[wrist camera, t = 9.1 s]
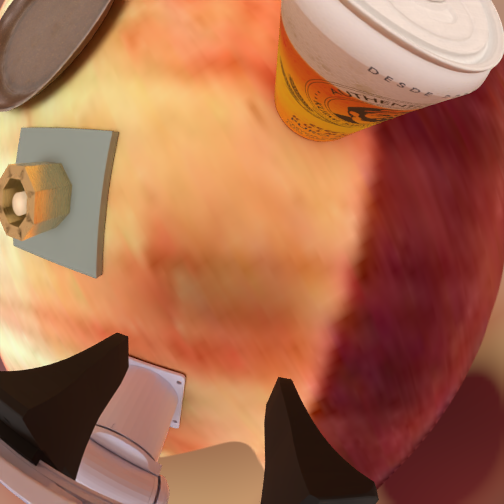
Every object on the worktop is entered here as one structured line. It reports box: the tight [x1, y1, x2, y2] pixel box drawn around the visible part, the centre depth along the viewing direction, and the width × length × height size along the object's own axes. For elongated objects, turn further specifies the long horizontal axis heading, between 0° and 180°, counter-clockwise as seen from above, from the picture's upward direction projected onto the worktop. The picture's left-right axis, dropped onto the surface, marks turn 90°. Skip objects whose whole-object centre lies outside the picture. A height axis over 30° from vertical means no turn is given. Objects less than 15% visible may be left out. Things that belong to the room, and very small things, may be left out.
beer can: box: [274, 0, 504, 142], centre depth 10 cm, size 6×6×15 cm
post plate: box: [12, 128, 119, 278], centre depth 17 cm, size 12×12×5 cm
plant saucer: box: [0, 0, 114, 112], centre depth 13 cm, size 21×21×3 cm
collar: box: [0, 161, 72, 241], centre depth 16 cm, size 6×6×4 cm
